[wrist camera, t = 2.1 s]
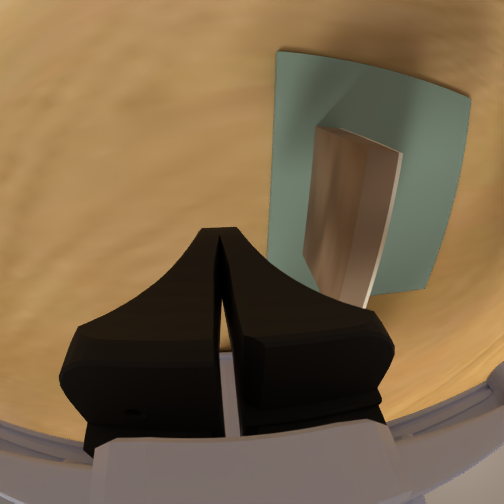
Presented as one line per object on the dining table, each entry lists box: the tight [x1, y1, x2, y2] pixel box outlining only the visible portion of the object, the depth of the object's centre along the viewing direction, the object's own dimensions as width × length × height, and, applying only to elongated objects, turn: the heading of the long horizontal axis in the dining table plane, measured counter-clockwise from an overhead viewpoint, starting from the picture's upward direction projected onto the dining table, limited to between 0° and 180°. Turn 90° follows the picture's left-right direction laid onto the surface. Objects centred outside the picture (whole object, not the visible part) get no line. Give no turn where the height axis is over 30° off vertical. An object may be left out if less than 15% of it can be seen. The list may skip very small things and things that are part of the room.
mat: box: [267, 51, 471, 296], centre depth 17 cm, size 16×14×1 cm
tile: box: [302, 126, 403, 309], centre depth 14 cm, size 8×2×6 cm, turn 179°
